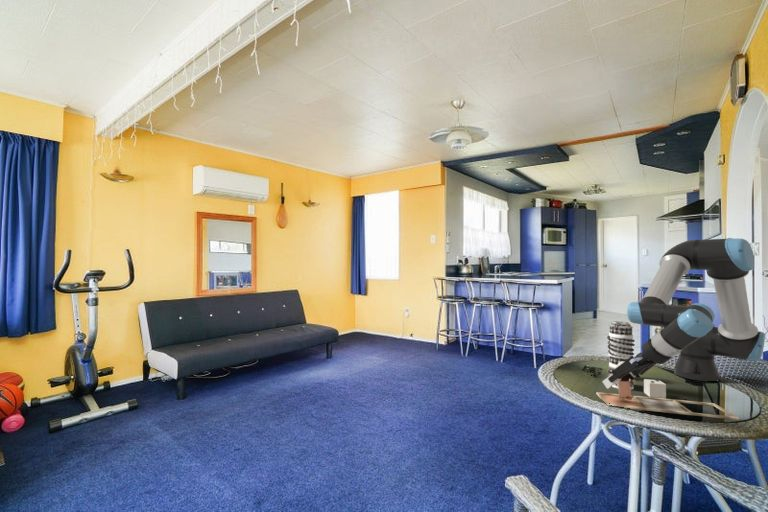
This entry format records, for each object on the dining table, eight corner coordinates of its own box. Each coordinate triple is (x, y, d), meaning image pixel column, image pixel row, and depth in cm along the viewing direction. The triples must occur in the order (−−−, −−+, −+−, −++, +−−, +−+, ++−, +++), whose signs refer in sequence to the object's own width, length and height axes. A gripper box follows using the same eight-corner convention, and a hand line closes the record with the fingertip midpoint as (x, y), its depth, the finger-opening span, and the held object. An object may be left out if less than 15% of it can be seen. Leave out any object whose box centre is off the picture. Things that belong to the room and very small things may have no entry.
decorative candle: (611, 388, 141) (611, 323, 141) (604, 381, 150) (604, 319, 150) (638, 391, 138) (638, 324, 139) (629, 383, 147) (629, 321, 148)
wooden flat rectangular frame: (714, 405, 125) (714, 403, 125) (739, 420, 113) (739, 418, 113) (596, 393, 135) (596, 392, 135) (607, 406, 122) (607, 404, 122)
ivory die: (659, 393, 136) (659, 378, 136) (666, 398, 131) (665, 382, 131) (643, 392, 137) (643, 377, 137) (649, 397, 132) (649, 381, 132)
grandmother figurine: (630, 396, 129) (629, 359, 129) (638, 400, 125) (637, 362, 125) (609, 396, 129) (608, 360, 129) (616, 400, 125) (615, 363, 125)
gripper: (650, 360, 110) (600, 397, 124) (690, 355, 117) (637, 390, 131) (632, 339, 115) (586, 376, 129) (671, 335, 122) (623, 371, 137)
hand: (612, 383), depth 130 cm, fingers closed on grandmother figurine, 6 cm apart
